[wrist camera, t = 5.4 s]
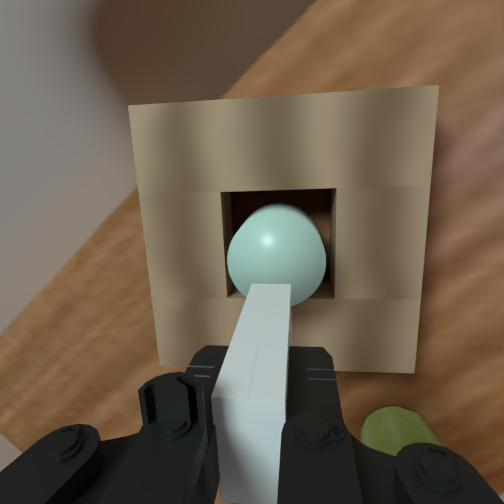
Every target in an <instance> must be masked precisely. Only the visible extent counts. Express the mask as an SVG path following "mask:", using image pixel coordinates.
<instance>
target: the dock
mask: <svg viewBox="0 0 504 504" xmlns="http://www.w3.org/2000/svg"><path fill="white" fill-rule="evenodd" d="M438 92H439V85H435V86H420V87H405V88H390V89H374V90H359V91H344V92H329V93H314V94H298V95H283V96H268V97H253V98H238V99H222V100H208V101H193V102H177V103H162V104H147V105H132V106H128V110H129V118H130V126H131V134H132V143H133V151H134V159H135V167H136V175H137V183H138V191H139V200H140V208H141V216H142V224H143V232H144V240H145V248H146V257H147V265H148V273H149V281H150V289H151V297H152V305H153V313H154V322H155V330H156V338H157V346H158V354H159V362H160V366H181V367H189V364H190V362H191V360H192V358H193V356H194V354H195V353H197V352H198V351H199V350H200V349H202V348H203V347H204V346H205V345H222V346H229V345H230V342H231V340H232V337H233V334H234V331H235V329H236V326H237V323H238V320H239V317H240V315H241V312H242V309H243V306H244V303H245V301H246V297H245V296H244V295H243V294H242V293H241V292H240V291H239V290H238V289H237V287H236V286H235V285H234V283H233V281H232V279H231V277H230V274H229V270H228V264H227V256H228V250H229V246H230V243H231V241H232V239H233V226H232V209H231V192H234V191H265V190H295V189H325V188H331V205H330V275H329V281H321V283H320V285H319V287H318V288H317V289H316V291H315V292H314V293H313V294H312V295H311V296H310V297H308V298H307V299H306V300H304V301H302V302H301V303H298V304H296V305H293V306H291V317H292V346H307V347H324V348H325V349H326V350H327V352H328V353H329V354H330V355H331V356H332V358H333V364H334V371H352V372H386V373H415V362H416V350H417V338H418V327H419V315H420V303H421V291H422V280H423V268H424V256H425V244H426V233H427V221H428V209H429V197H430V186H431V174H432V162H433V150H434V139H435V127H436V115H437V103H438Z"/></svg>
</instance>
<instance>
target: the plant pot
mask: <svg viewBox="0 0 504 504" xmlns="http://www.w3.org/2000/svg"><path fill="white" fill-rule="evenodd" d="M415 442H418V443H432V444H436V445H439V446H442V444H441V443H440V441H439V440H438V438H437V437H436V436H435V434H434V433H433V431H432V430H431V428H430V427H429V425H428V424H427V423H426V421H425V420H424V419H423V418H422V416H420V415H419V414H418V413H416V412H414V411H410V410H407V409H404V408H402V407H398V406H390V407H384V408H381V409H378V410H376V411H374V412H373V413H371V414H370V415H369V416H368V417H367V418H366V420H365V422H364V425H363V427H362V429H361V443H363V444H364V445H366V446H368V447H370V448H373V449H375V450H378V451H381V452H384V453H387V454H390V455H393V456H396V455H397V453H398V452H399V451H400V450H401V449H402V448H403V447H404V446H406V445H409V444H412V443H415ZM442 447H443V446H442Z"/></svg>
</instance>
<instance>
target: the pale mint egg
mask: <svg viewBox="0 0 504 504" xmlns="http://www.w3.org/2000/svg"><path fill="white" fill-rule="evenodd" d="M227 264H228V270H229V274H230V277H231V279H232V281H233V283H234V285H235V286H236V287H237V289H238V290H239V291H240V292H241V293H242V294H243V295H244V296H245V297H246V298H247V295H248V292H249V289H250V287H251V284H291V306H293V305H296V304H298V303H301V302H302V301H304V300H306V299H307V298H308V297H310V296H311V295H312V294H313V293H314V292H315V291H316V289H317V288H318V287H319V285H320V283H321V281H322V279H323V276H324V273H325V269H326V254H325V249H324V246H323V243H322V240H321V237H320V234H319V231H318V228H317V226H316V224H315V222H314V221H313V219H312V218H311V217H310V216H309V215H308V214H307V213H306V212H305V211H303V210H302V209H300V208H299V207H296V206H294V205H291V204H286V203H272V204H268V205H265V206H263V207H261V208H259V209H257V210H256V211H254V212H253V213H252V214H251V215H250V216H249V217H248V218H247V220H246V221H245V222H244V223H243V225H242V226H241V227H240V229H239V230H238V231H237V233H236V234H235V235H234V237H233V239H232V241H231V243H230V246H229V250H228V256H227Z"/></svg>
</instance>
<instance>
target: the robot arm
mask: <svg viewBox="0 0 504 504" xmlns="http://www.w3.org/2000/svg"><path fill="white" fill-rule="evenodd" d="M138 394H139V400H140V407H141V414H142V421H143V426H142V428H141V429H140V431H139V433H136V434H133V435H129V436H126V437H120V438H115V439H110V440H105V441H101V440H100V436H99V433H98V431H97V429H95V428H94V427H92V426H90V425H85V424H75V425H70V426H65V427H62V428H60V429H57V430H55V431H53V432H51V433H49V434H48V435H46V436H45V437H43V438H42V439H40V440H39V441H37V442H36V443H35V444H34V445H32V446H31V447H30V448H29V449H28V450H26V451H25V452H24V453H23V454H21V455H20V456H19V457H18V458H17V459H15V460H14V461H13V462H12V463H11V464H10V465H8V466H7V467H6V468H4V469H3V470H2V471H1V472H0V504H214V502H215V498H216V494H217V489H218V485H219V496H220V502H231V503H243V504H504V502H503V501H502V500H501V499H500V497H499V496H498V495H497V494H496V493H495V492H494V490H493V489H492V488H491V487H490V486H489V485H488V483H487V482H486V481H485V480H484V479H483V478H482V476H481V475H480V474H479V473H478V472H477V470H476V469H475V468H474V467H473V466H472V465H471V464H469V463H468V462H467V461H466V460H465V459H464V458H463V457H462V456H460V455H458V454H457V453H455V452H453V451H451V450H449V449H448V448H446V447H442V446H439V445H436V444H432V443H418V442H415V443H412V444H409V445H406V446H404V447H403V448H402V449H401V450H400V451H399V452H398V453H397V455H396V456H393V455H390V454H387V453H384V452H381V451H378V450H375V449H373V448H370V447H368V446H366V445H364V444H363V443H361V442H360V441H358V440H357V439H356V438H355V437H354V436H353V435H351V434H350V432H349V431H348V429H347V427H346V426H345V424H344V421H343V417H342V411H341V405H340V399H339V393H338V388H337V382H336V376H335V371H334V364H333V358H332V356H331V355H330V354H329V353H328V352H327V350H326V349H325V348H324V347H307V346H292V317H291V284H251V287H250V289H249V292H248V295H247V298H246V301H245V303H244V306H243V309H242V312H241V315H240V317H239V320H238V323H237V326H236V329H235V331H234V334H233V337H232V340H231V342H230V345H229V346H222V345H205V346H204V347H203V348H202V349H200V350H199V351H198V352H197V353H195V354H194V356H193V358H192V360H191V362H190V364H189V367H188V368H187V370H186V372H185V373H183V372H175V373H167V374H163V375H160V376H157V377H155V378H153V379H151V380H149V381H148V382H146V383H145V384H144V385H143V386H142V387H141V388H140V389H139V390H138Z"/></svg>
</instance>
